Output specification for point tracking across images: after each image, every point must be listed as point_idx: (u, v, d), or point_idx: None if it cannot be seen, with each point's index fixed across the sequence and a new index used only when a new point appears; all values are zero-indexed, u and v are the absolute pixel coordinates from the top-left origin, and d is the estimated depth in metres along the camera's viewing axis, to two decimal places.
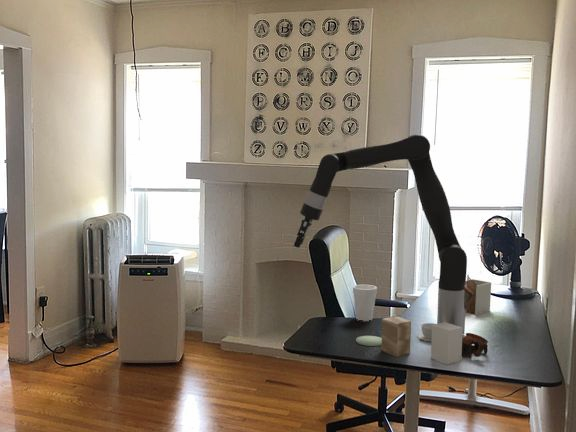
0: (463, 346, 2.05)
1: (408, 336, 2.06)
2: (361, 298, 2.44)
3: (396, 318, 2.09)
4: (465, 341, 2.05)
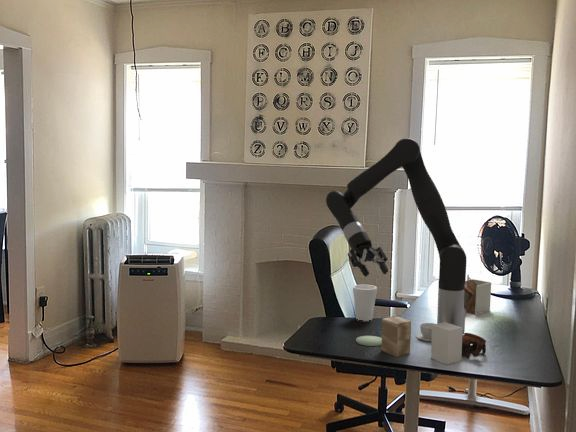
0: None
1: (408, 336, 2.06)
2: (361, 298, 2.44)
3: (396, 318, 2.09)
4: (463, 341, 2.05)
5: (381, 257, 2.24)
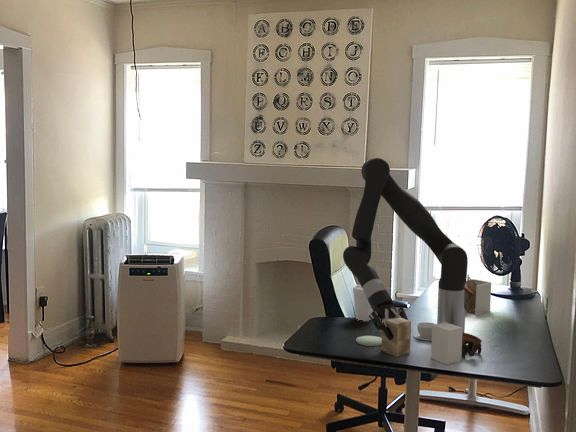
0: None
1: (408, 336, 2.06)
2: (361, 298, 2.44)
3: (396, 318, 2.09)
4: None
5: None
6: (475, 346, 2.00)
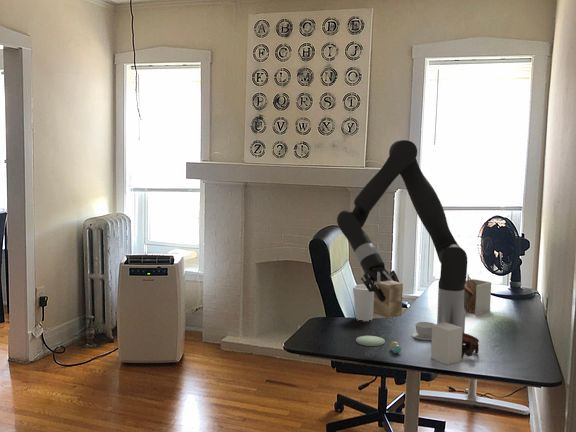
0: None
1: (400, 298, 2.09)
2: (361, 298, 2.44)
3: (388, 281, 2.12)
4: None
5: None
6: (472, 346, 2.01)
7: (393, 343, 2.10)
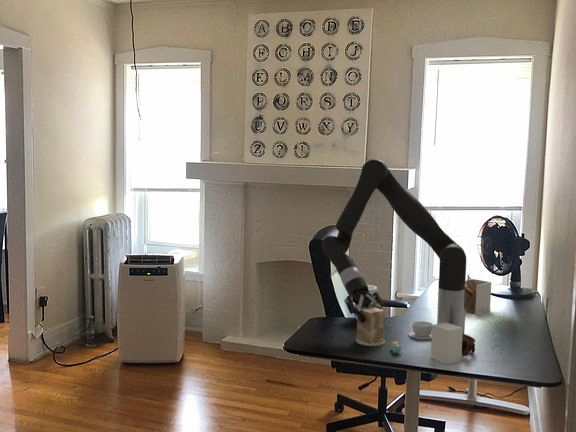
0: None
1: (382, 324, 2.17)
2: None
3: (371, 308, 2.20)
4: None
5: (378, 302, 2.25)
6: (469, 346, 2.01)
7: (393, 343, 2.10)
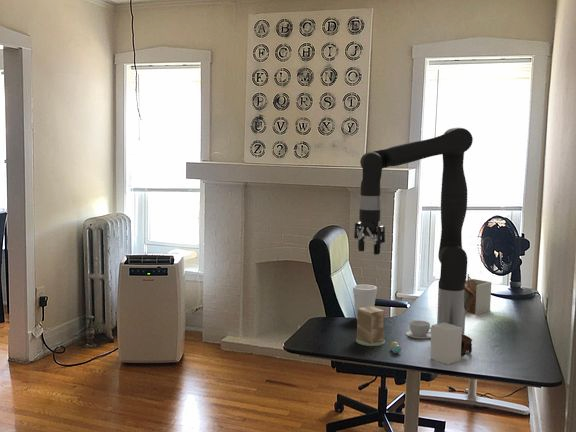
0: None
1: (382, 324, 2.17)
2: (361, 298, 2.44)
3: (371, 308, 2.20)
4: None
5: None
6: (466, 345, 2.01)
7: (393, 343, 2.10)
